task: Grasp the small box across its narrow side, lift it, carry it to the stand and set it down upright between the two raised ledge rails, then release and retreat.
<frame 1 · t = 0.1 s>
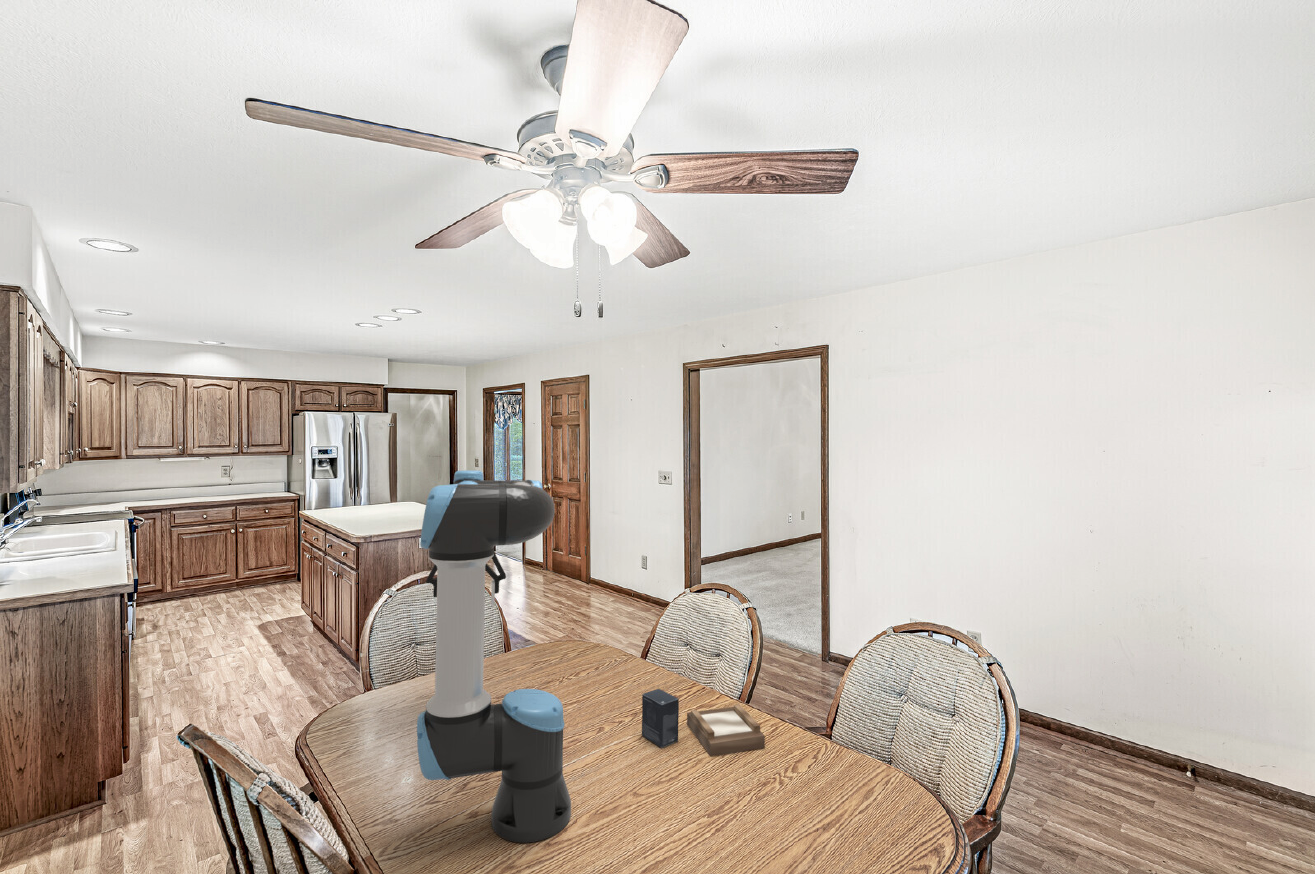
hand: (466, 607, 157), 28 cm above the table, fingers open, 13 cm apart
stand: (724, 735, 147), on the table
box: (659, 739, 145), on the table
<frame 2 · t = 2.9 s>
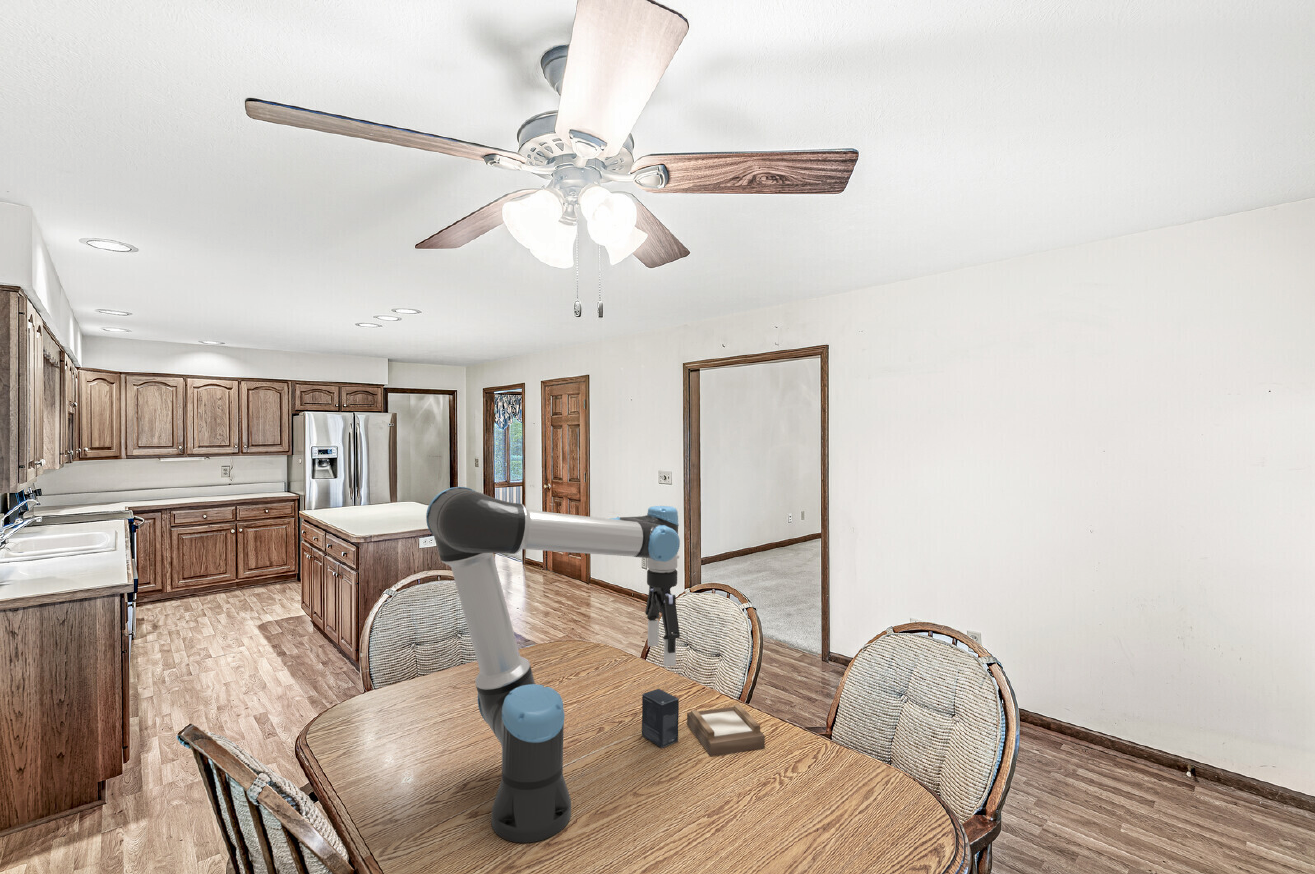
hand: (661, 655, 145), 21 cm above the table, fingers open, 13 cm apart
nothing on the table moved.
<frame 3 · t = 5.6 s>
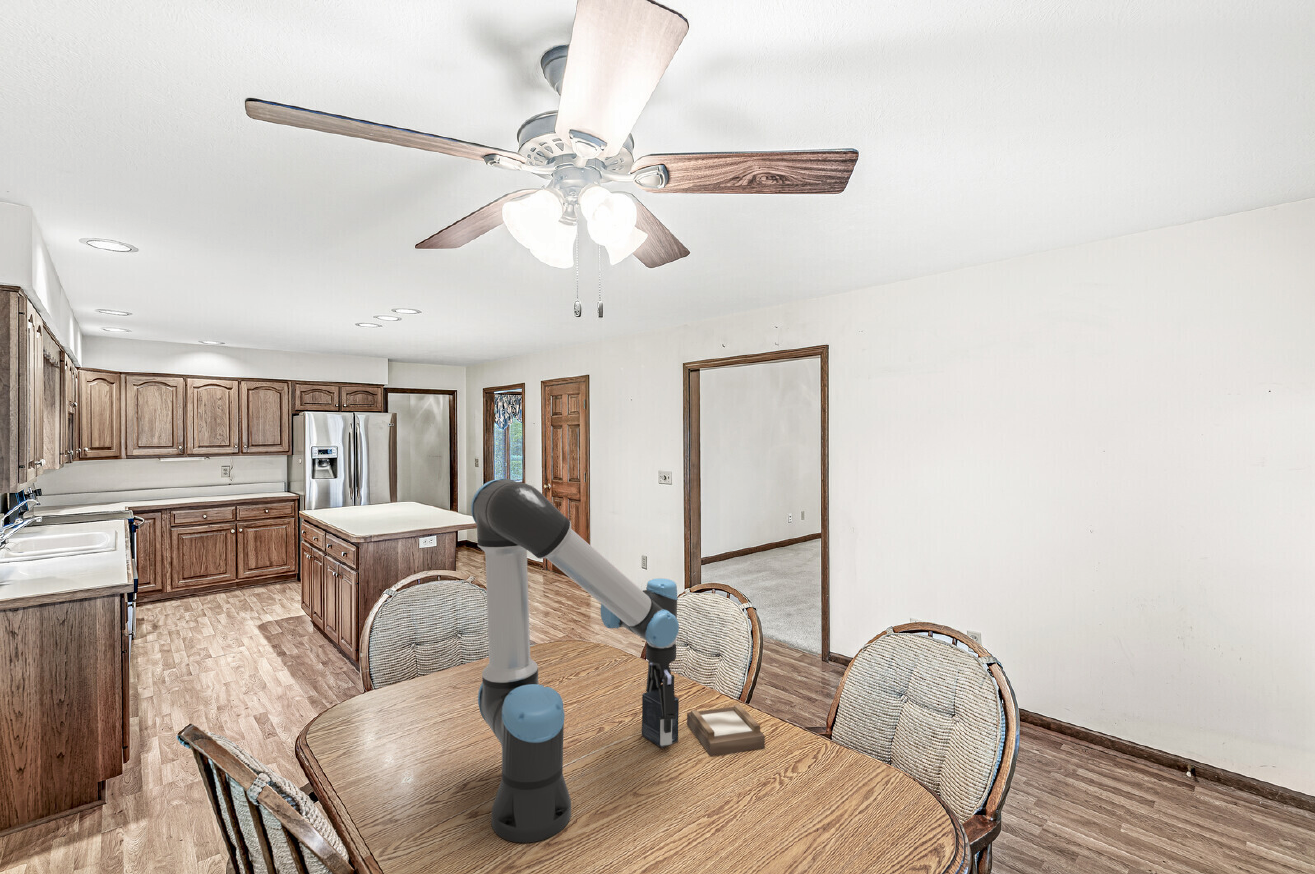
hand: (659, 734, 145), 1 cm above the table, fingers closed on box, 9 cm apart
box: (659, 739, 145), on the table, touching gripper
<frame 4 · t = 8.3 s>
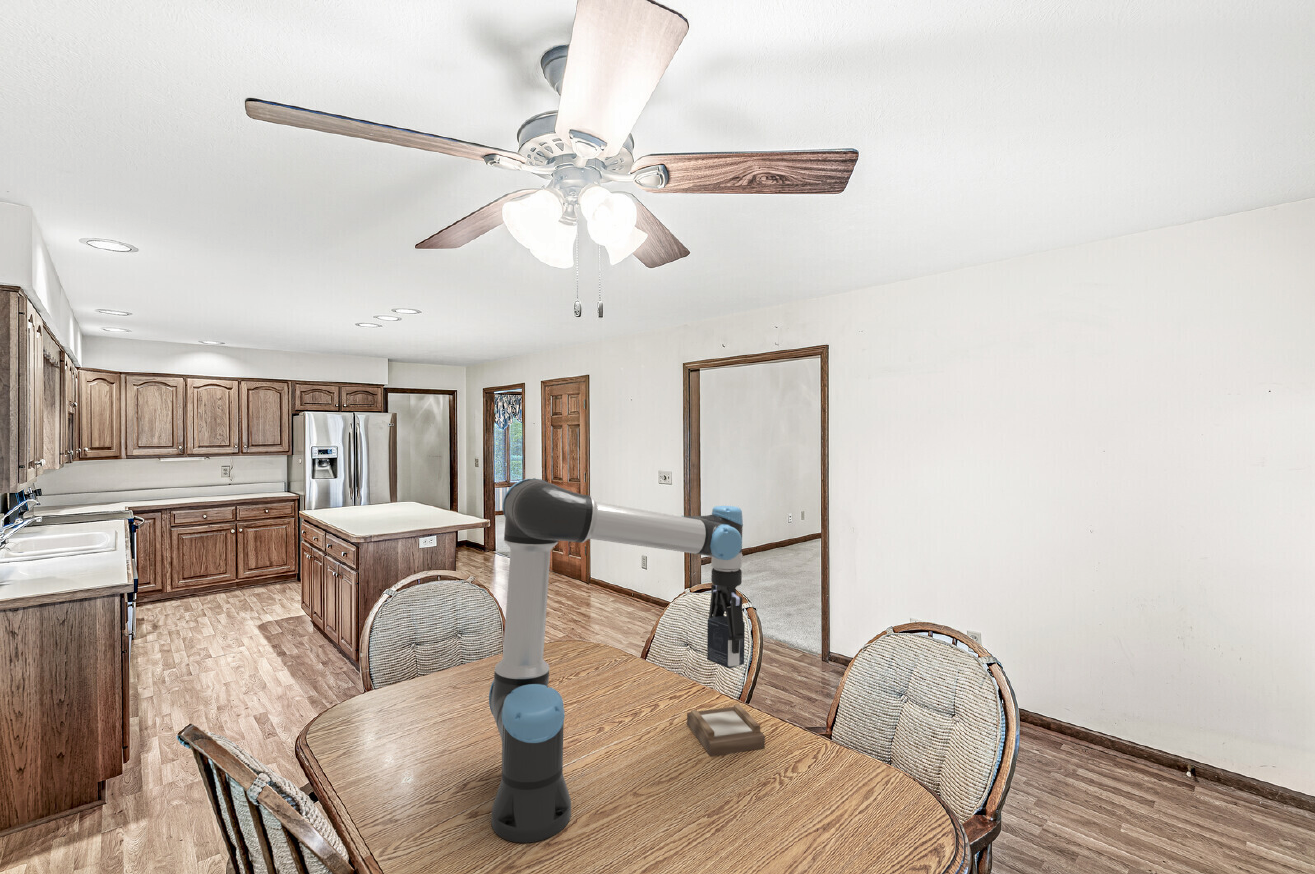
hand: (725, 657, 147), 19 cm above the table, fingers closed on box, 9 cm apart
box: (725, 662, 147), point 18 cm above the table, touching gripper
when the fingers open (6 cm above the table, at t = 11.2 s): box drops 2 cm, resting on stand.
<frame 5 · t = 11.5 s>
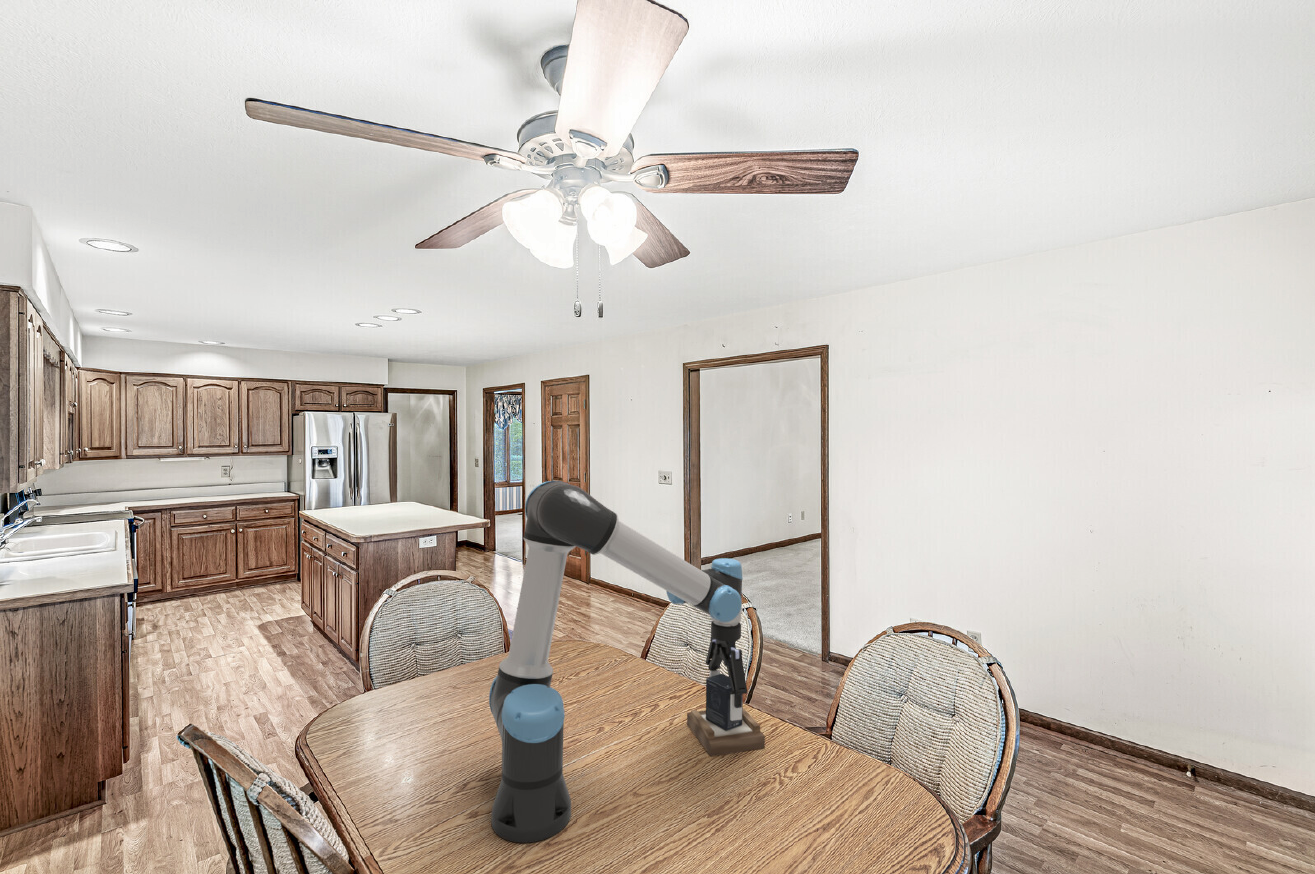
hand: (724, 707, 147), 7 cm above the table, fingers open, 13 cm apart
box: (723, 723, 147), point 3 cm above the table, touching stand
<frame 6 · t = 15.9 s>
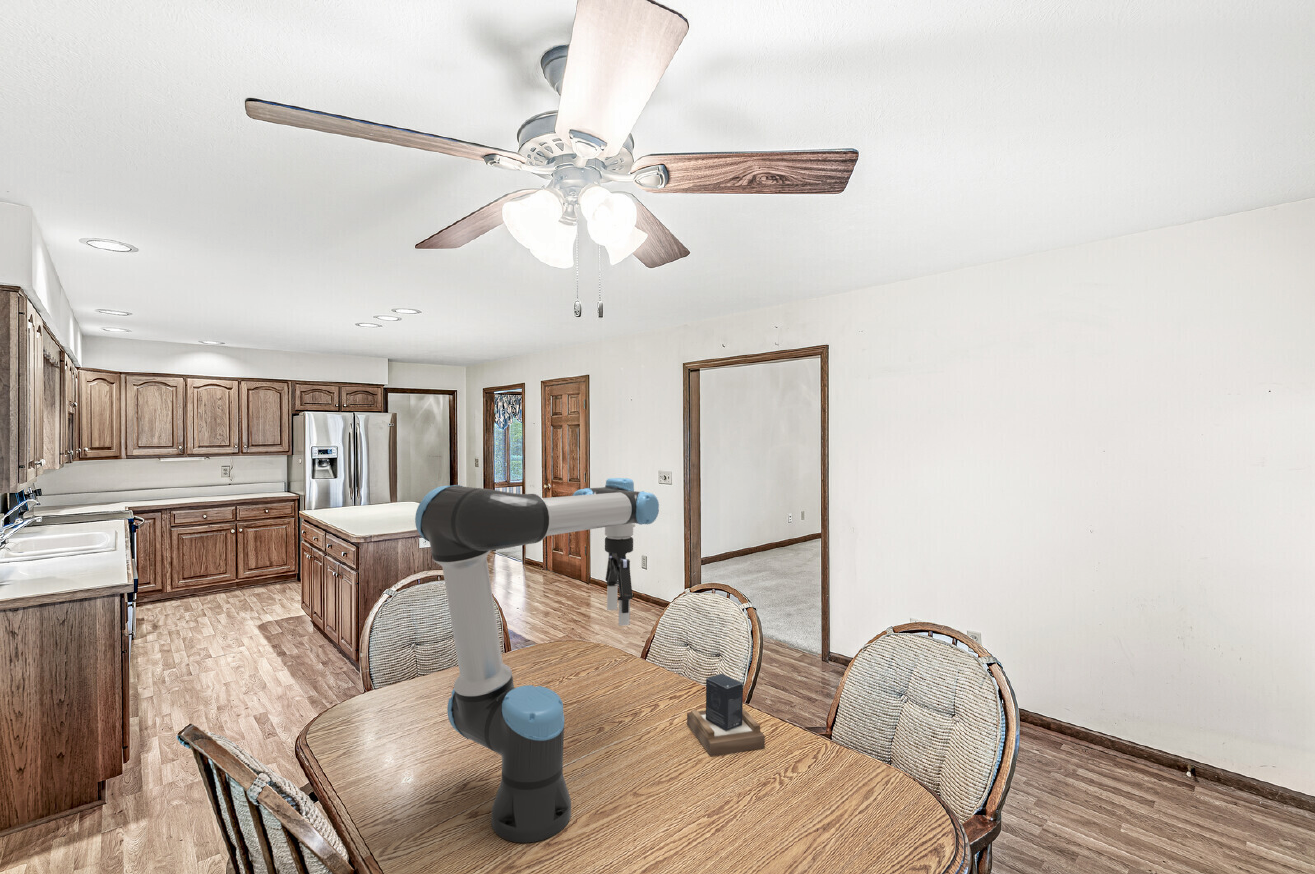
hand: (617, 617, 155), 27 cm above the table, fingers open, 13 cm apart
nothing on the table moved.
at the end: box inside the target area on the stand (0.3 cm from its centre), point 3.0 cm above the stand's base; box tilted 0°; the gripper is holding nothing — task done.
